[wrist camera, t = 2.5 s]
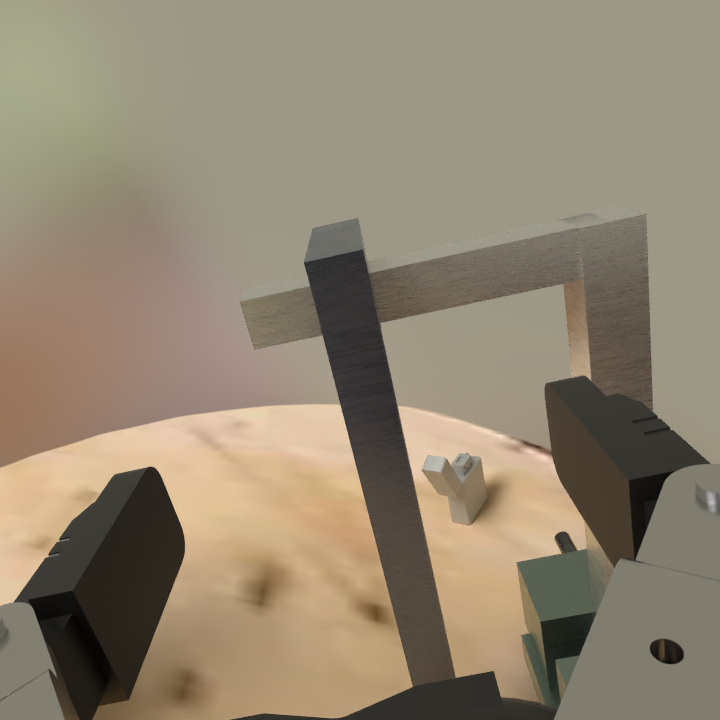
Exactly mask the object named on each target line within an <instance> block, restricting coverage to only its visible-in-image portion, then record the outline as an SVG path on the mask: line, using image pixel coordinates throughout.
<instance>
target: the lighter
mask: <svg viewBox="0 0 720 720" xmlns="http://www.w3.org/2000/svg"><path fill="white" fill-rule="evenodd" d="M451 465H452V466H451ZM451 465H450V463H449V462H448V460H447V459H446V458H444V457H438V456H431V455H428V456H427V458H426V461H425V463H424V466H423V468H422V471H423V473H424V474H425V476H426V477H427V478H428V480H429V481H430V483H431V484H432V486H433V487H434V488H435V490H436V491H437V493H438V494H440V495H444V496H448V500H449V505H450V511H451V516H452V521H453V522H456V523H460V524H465V525H470V524H471V523H472V522H473V520H474V518H475V517H476V515H477V514H478V512H479V511H480V509H481V507H482V506H483V504H484V503H485V501H486V500H487V493H486V487H485V481H484V474H483V468H482V462H481V458H480V457H477V456H471V455H469V454H468V453H465V454H459V455H458V456H457V457H456V459H455V460H454V461H453V463H452V464H451Z"/></svg>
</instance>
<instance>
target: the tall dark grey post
mask: <svg viewBox="0 0 720 720" xmlns="http://www.w3.org/2000/svg"><path fill="white" fill-rule="evenodd" d="M304 264H305V268H306V272H307V276H308V280H309V284H310V288H311V292H312V296H313V299H314V303H315V307H316V311H317V315H318V319H319V323H320V327H321V331H322V334H323V338H324V342H325V346H326V350H327V354H328V358H329V362H330V365H331V369H332V373H333V377H334V381H335V385H336V389H337V393H338V397H339V401H340V404H341V408H342V412H343V416H344V420H345V424H346V428H347V432H348V436H349V439H350V443H351V447H352V451H353V455H354V459H355V463H356V467H357V471H358V474H359V478H360V482H361V486H362V490H363V494H364V498H365V502H366V506H367V509H368V513H369V517H370V521H371V525H372V529H373V533H374V537H375V541H376V544H377V548H378V552H379V556H380V560H381V564H382V568H383V572H384V576H385V579H386V583H387V587H388V591H389V595H390V599H391V603H392V607H393V611H394V614H395V618H396V622H397V626H398V630H399V634H400V638H401V642H402V646H403V649H404V653H405V657H406V661H407V665H408V669H409V673H410V677H411V681H412V684H413V687H415V686H417V685H421V684H427V683H432V682H438V681H443V680H448V679H454V678H455V673H454V668H453V663H452V658H451V653H450V648H449V643H448V639H447V634H446V629H445V625H444V620H443V615H442V611H441V606H440V601H439V597H438V592H437V588H436V583H435V578H434V574H433V569H432V564H431V560H430V555H429V550H428V546H427V541H426V536H425V532H424V527H423V522H422V518H421V513H420V508H419V504H418V499H417V494H416V490H415V485H414V481H413V476H412V471H411V467H410V462H409V457H408V453H407V448H406V443H405V439H404V434H403V429H402V425H401V420H400V415H399V411H398V406H397V402H396V397H395V392H394V387H393V383H392V378H391V373H390V369H389V364H388V360H387V355H386V350H385V346H384V341H383V336H382V332H381V324H380V322H379V318H378V313H377V308H376V304H375V299H374V294H373V290H372V285H371V280H370V276H369V270H368V265H367V257H366V253H365V248H364V243H363V239H362V234H361V229H360V225H359V220H358V218H356V219H352V220H348V221H343V222H339V223H334V224H330V225H325V226H321V227H316V228H313V229H312V233H311V237H310V241H309V245H308V249H307V253H306V257H305V260H304Z"/></svg>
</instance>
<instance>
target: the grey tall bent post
mask: <svg viewBox="0 0 720 720" xmlns="http://www.w3.org/2000/svg"><path fill="white" fill-rule="evenodd" d="M367 265H368V270H369V276H370V280H371V285H372V290H373V294H374V299H375V304H376V308H377V313H378V318H379V322H380V323H382V322H387V321H392V320H397V319H401V318H406V317H411V316H415V315H419V314H425V313H429V312H434V311H439V310H443V309H448V308H452V307H457V306H461V305H467V304H471V303H476V302H481V301H485V300H490V299H495V298H499V297H503V296H508V295H513V294H518V293H523V292H527V291H532V290H536V289H541V288H546V287H551V286H555V285H560V284H563V286H564V297H565V307H566V308H565V309H566V320H567V331H568V342H569V353H570V364H571V376H572V378H573V377H578V376H583V375H585V376H586V377H588V378H589V379H590V380H591V381H592V382H593V383H594V384H595V385H596V386H597V387H598V388H599V389H600V390H601V391H602V392H603V393H604V394H605V395H606V396H608V395H613V394H617V393H619V394H622V395H624V396H627V397H629V398H632V399H635V400H637V401H640V402H642V403H643V404H645V405H646V406H647V407H648V408H649V409H650V410H651V411H652V412H653V395H652V366H651V335H650V306H649V277H648V246H647V217H646V214H645V213H642V212H638V211H635V210H631V209H628V208H624V207H621V206H613V207H608V208H604V209H600V210H595V211H590V212H586V213H581V214H577V215H572V216H568V217H563V218H559V219H558V220H555V221H550V222H546V223H541V224H536V225H532V226H527V227H523V228H518V229H514V230H509V231H505V232H500V233H495V234H491V235H487V236H482V237H478V238H473V239H469V240H464V241H459V242H455V243H450V244H446V245H441V246H436V247H432V248H428V249H423V250H418V251H414V252H409V253H405V254H400V255H396V256H391V257H387V258H383V259H377V260H374V261H368V262H367ZM240 305H241V308H242V312H243V315H244V318H245V322H246V325H247V328H248V331H249V335H250V338H251V341H252V344H253V348H254V350H256V349H261V348H266V347H270V346H275V345H280V344H284V343H289V342H294V341H298V340H303V339H308V338H312V337H317V336H322V335H323V334H322V331H321V327H320V323H319V319H318V315H317V311H316V307H315V303H314V299H313V296H312V292H311V288H310V284H309V280H308V276H307V275H305V276H300V277H296V278H291V279H287V280H282V281H278V282H273V283H269V284H264V285H260V286H255V287H251V288H247V290H246V292H245V293H244V295H243V296H242V298H241V300H240ZM584 521H585V520H584ZM585 532H586V543H587V549H585V550H580V551H577V549H576V547H575V545H574V543H573V542H572V540H571V538H570V536H569V534H568V533H566V532H559V533H558V534H556V536H555V541H556V543H557V545H558V547H559V549H560V551H561V553H562V554H558V555H553V556H548V557H542V558H537V559H532V560H527V561H521V562H517V568H518V575H519V582H520V589H521V596H522V602H523V609H524V616H525V623H526V626H527V629H528V632H529V634H525V635H521V636H522V643H523V649H524V656H525V660H526V663H527V666H528V669H529V672H530V675H531V678H532V681H533V684H534V687H535V689H536V692H537V695H538V698H539V701H540V704H543V705H547V706H550V707H553V708H556V709H558V708H559V706H560V703H561V701H562V698H563V696H564V693H565V691H566V688H567V686H568V683H569V681H570V678H571V676H572V673H573V671H574V668H575V666H576V663H577V661H578V658H579V656H580V653H581V651H582V648H583V646H584V643H585V641H586V638H587V636H588V633H589V631H590V628H591V626H592V623H593V621H594V618H595V616H596V613H597V611H598V608H599V606H600V603H601V601H602V598H603V596H604V593H605V591H606V588H607V586H608V584H609V581H610V579H611V576H612V574H613V571H614V567H613V565H612V564H611V562H610V561H609V559H608V557H607V556H606V554H605V553H604V551H603V549H602V548H601V546H600V544H599V543H598V541H597V540H596V538H595V536H594V535H593V533H592V532H591V530H590V528H589V527H588V525H587V523H586V522H585Z"/></svg>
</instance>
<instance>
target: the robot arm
mask: <svg viewBox="0 0 720 720" xmlns="http://www.w3.org/2000/svg"><path fill="white" fill-rule="evenodd" d="M545 400H546V409H547V417H548V425H549V433H550V441H551V449H552V456H553V461H554V464H555V468H556V471H557V474H558V476H559V479H560V481H561V483H562V485H563V486H564V488H565V490H566V491H567V493H568V494H569V496H570V498H571V499H572V501H573V503H574V504H575V506H576V507H577V509H578V511H579V512H580V514H581V515H582V517H583V519H584V520H585V522H586V523H587V525H588V527H589V528H590V530H591V532H592V533H593V535H594V536H595V538H596V540H597V541H598V543H599V544H600V546H601V548H602V549H603V551H604V553H605V554H606V556H607V557H608V559H609V561H610V562H611V564H612V565H613V567H614V571H613V574H612V576H611V579H610V581H609V584H608V586H607V588H606V591H605V593H604V596H603V598H602V601H601V603H600V606H599V608H598V611H597V613H596V616H595V618H594V621H593V623H592V626H591V628H590V631H589V633H588V636H587V638H586V641H585V643H584V646H583V648H582V651H581V653H580V656H579V658H578V661H577V663H576V666H575V668H574V671H573V673H572V676H571V678H570V681H569V683H568V686H567V688H566V691H565V693H564V696H563V698H562V701H561V703H560V706H559V708H558V709H556V708H553V707H550V706H547V705H543V704H540V703H537V702H532V701H527V700H522V699H516V698H504V697H501V696H500V693H499V689H498V685H497V682H496V678H495V674H494V671H492V672H486V673H481V674H475V675H470V676H465V677H459V678H454V679H448V680H443V681H438V682H432V683H427V684H421V685H417V686H415V687H412V688H410V689H408V690H405V691H403V692H401V693H399V694H396V695H394V696H392V697H389V698H387V699H385V700H382V701H380V702H378V703H376V704H373V705H371V706H369V707H366V708H364V709H362V710H360V711H357V712H355V713H353V714H350V715H348V716H345V717H342V718H333V719H331V718H318V717H304V716H290V715H277V714H259V715H253V716H248V717H242V718H237V719H232V720H720V465H719V464H710V463H709V462H708V461H707V460H706V459H705V458H704V457H702V456H701V455H700V454H699V453H698V452H697V451H696V450H695V449H693V448H692V447H691V446H690V445H689V444H688V443H687V442H686V441H685V440H683V439H682V438H681V437H680V436H679V435H678V434H677V433H676V432H675V431H673V430H670V427H669V426H668V425H667V424H666V423H665V422H663V421H662V420H661V419H658V417H657V415H656V414H654V413H653V412H652V411H651V410H650V409H649V408H648V407H647V406H646V405H645V404H643V403H642V402H640V401H637V400H635V399H632V398H629V397H627V396H624V395H622V394H619V393H617V394H613V395H608V396H606V395H605V394H604V393H603V392H602V391H601V390H600V389H599V388H598V387H597V386H596V385H595V384H594V383H593V382H592V381H591V380H590V379H589V378H588V377H586V376H585V375H583V376H578V377H573V378H569V379H564V380H559V381H555V382H550V383H546V385H545ZM59 540H60V542H57V543H56V544H55V545H54V547H53V548H52V550H51V551H50V552H49V557H47V558H45V559H44V561H43V562H42V564H41V565H40V566H39V568H38V569H37V571H36V572H35V573H34V575H33V576H32V577H31V579H30V580H29V582H28V583H27V584H26V586H25V587H24V589H23V590H22V591H21V593H20V594H19V596H18V597H17V598H16V600H15V601H14V603H9V604H5V605H2V606H0V720H94V719H93V717H94V715H95V712H96V710H97V708H98V706H100V705H105V704H110V703H116V702H121V701H126V700H129V698H130V695H131V693H132V690H133V688H134V685H135V682H136V680H137V677H138V675H139V672H140V669H141V667H142V664H143V662H144V659H145V657H146V654H147V651H148V649H149V646H150V644H151V641H152V639H153V636H154V633H155V631H156V628H157V626H158V623H159V621H160V618H161V615H162V613H163V610H164V608H165V605H166V602H167V600H168V597H169V595H170V592H171V590H172V587H173V584H174V582H175V579H176V577H177V574H178V572H179V569H180V566H181V564H182V561H183V558H184V553H185V540H184V534H183V530H182V527H181V524H180V522H179V519H178V517H177V514H176V512H175V510H174V507H173V505H172V502H171V500H170V497H169V495H168V492H167V490H166V487H165V485H164V482H163V480H162V478H161V475H160V474H159V472H158V471H157V470H156V469H155V468H154V467H147V468H142V469H138V470H133V471H128V472H124V473H119V474H115V475H114V476H113V477H112V478H111V480H110V481H109V483H108V484H107V486H106V487H105V488H104V490H103V491H102V493H101V494H100V496H99V497H98V499H97V500H96V501H95V503H93V504H91V505H90V506H89V507H88V508H87V509H85V510H84V511H83V512H82V513H81V514H80V515H78V516H77V517H76V518H75V519H74V520H72V522H71V523H70V524H69V526H68V527H67V529H66V530H65V531H64V533H63V534H62V536H61V537H60V538H59Z"/></svg>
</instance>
